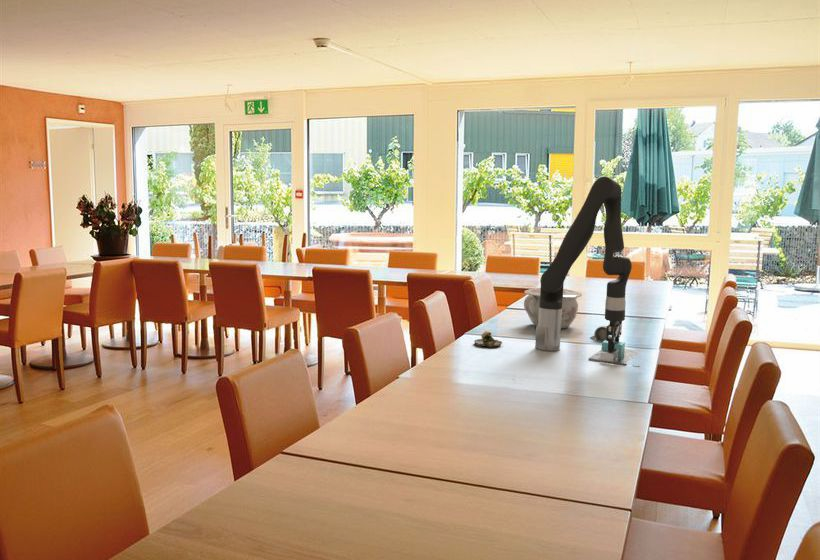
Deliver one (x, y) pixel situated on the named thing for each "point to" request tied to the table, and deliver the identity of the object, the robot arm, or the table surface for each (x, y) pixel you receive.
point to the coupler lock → (617, 345)
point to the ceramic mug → (600, 333)
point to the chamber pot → (567, 306)
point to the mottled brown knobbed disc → (487, 340)
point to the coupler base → (617, 362)
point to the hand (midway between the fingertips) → (613, 349)
